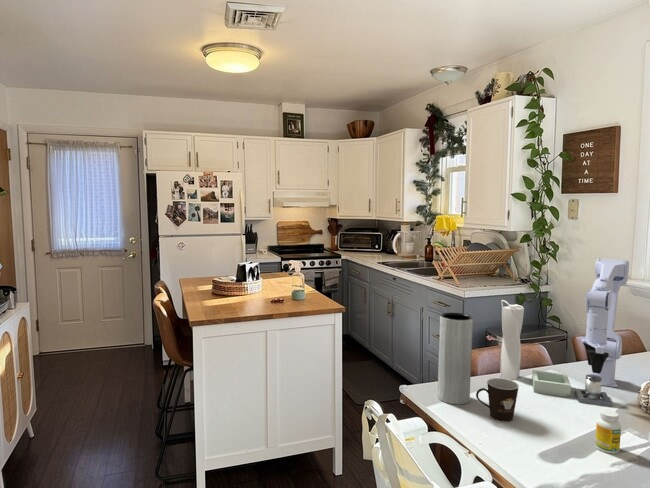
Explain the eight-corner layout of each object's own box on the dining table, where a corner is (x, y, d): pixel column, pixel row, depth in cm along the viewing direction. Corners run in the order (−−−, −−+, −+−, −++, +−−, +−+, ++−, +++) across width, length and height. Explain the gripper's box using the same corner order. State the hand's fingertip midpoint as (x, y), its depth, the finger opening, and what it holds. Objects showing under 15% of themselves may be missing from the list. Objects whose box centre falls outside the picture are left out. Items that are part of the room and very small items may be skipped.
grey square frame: (574, 391, 155) (574, 388, 155) (605, 395, 152) (605, 392, 152) (578, 402, 147) (579, 398, 147) (611, 406, 144) (611, 403, 143)
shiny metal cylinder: (583, 395, 152) (584, 373, 152) (598, 397, 151) (600, 375, 150) (585, 400, 148) (587, 378, 147) (601, 402, 147) (602, 380, 146)
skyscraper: (495, 377, 167) (498, 301, 165) (499, 371, 174) (503, 297, 171) (518, 381, 163) (522, 304, 161) (522, 375, 170) (525, 300, 167)
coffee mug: (516, 412, 139) (517, 380, 138) (518, 425, 131) (519, 391, 130) (475, 406, 142) (476, 375, 142) (475, 418, 134) (476, 385, 134)
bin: (532, 380, 164) (532, 370, 164) (565, 385, 160) (566, 374, 160) (533, 392, 154) (534, 380, 154) (570, 397, 150) (570, 385, 150)
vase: (471, 395, 151) (474, 314, 149) (467, 407, 142) (470, 321, 140) (440, 390, 155) (443, 311, 153) (434, 401, 146) (437, 317, 144)
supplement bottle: (601, 441, 122) (603, 406, 121) (623, 450, 118) (626, 414, 117) (591, 447, 119) (593, 411, 118) (613, 456, 115) (615, 419, 114)
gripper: (579, 321, 156) (576, 360, 157) (586, 331, 142) (583, 374, 143) (603, 323, 153) (600, 363, 154) (612, 334, 140) (609, 378, 141)
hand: (594, 368), depth 148 cm, fingers open, 7 cm apart
